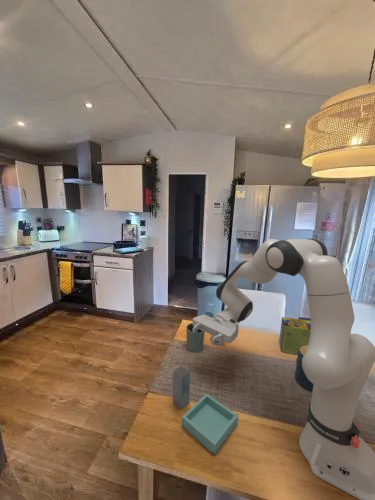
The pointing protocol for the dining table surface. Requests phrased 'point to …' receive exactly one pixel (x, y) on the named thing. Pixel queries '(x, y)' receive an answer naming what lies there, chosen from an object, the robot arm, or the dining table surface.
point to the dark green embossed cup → (194, 339)
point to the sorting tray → (210, 423)
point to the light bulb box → (219, 342)
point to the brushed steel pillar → (181, 387)
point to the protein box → (294, 334)
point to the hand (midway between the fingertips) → (202, 335)
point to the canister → (299, 371)
